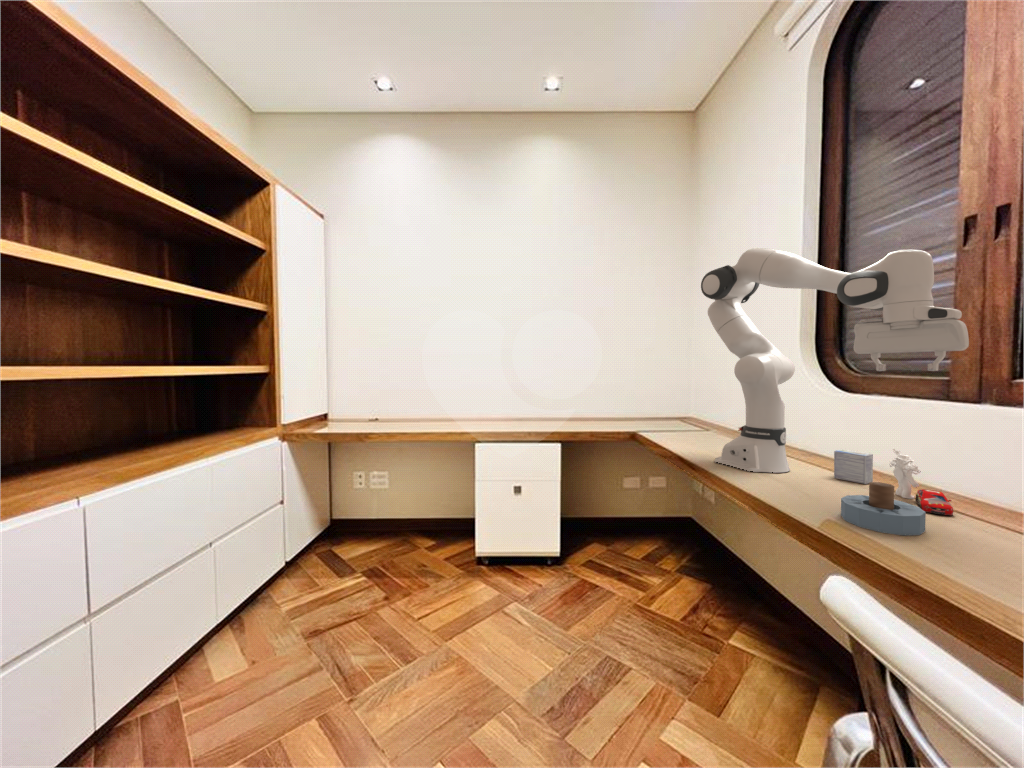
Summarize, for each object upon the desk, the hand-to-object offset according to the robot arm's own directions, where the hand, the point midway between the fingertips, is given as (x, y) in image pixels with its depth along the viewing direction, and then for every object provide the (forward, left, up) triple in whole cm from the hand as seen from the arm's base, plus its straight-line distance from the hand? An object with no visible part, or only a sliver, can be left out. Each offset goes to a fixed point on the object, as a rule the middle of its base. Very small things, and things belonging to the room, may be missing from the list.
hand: (905, 370), depth 98 cm
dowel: (+2, -22, -33) cm, 40 cm away
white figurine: (-1, +5, -33) cm, 34 cm away
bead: (+2, -22, -33) cm, 40 cm away
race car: (+5, 0, -34) cm, 34 cm away
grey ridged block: (-14, +12, -33) cm, 38 cm away
